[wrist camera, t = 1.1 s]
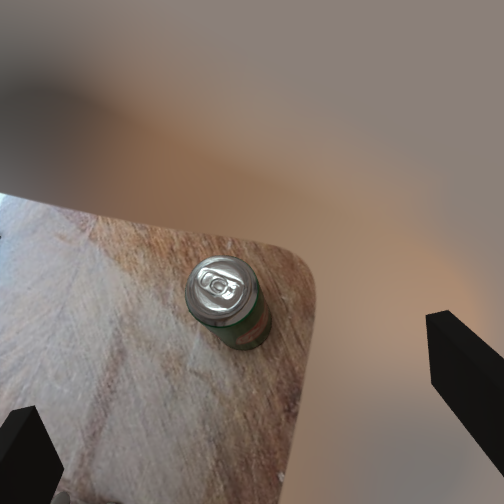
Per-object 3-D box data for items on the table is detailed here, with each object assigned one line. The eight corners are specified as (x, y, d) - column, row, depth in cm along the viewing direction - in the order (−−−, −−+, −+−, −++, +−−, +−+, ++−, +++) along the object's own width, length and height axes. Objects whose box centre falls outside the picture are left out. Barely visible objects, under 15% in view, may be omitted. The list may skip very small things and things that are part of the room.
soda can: (253, 362, 38) (229, 339, 27) (206, 333, 39) (165, 300, 28) (282, 313, 39) (271, 271, 28) (235, 286, 40) (207, 237, 29)
